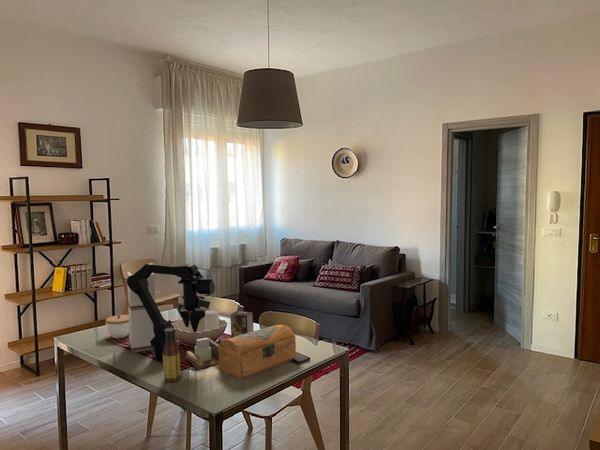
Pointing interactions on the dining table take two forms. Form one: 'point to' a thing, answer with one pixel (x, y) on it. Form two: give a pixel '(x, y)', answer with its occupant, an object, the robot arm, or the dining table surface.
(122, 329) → the lidded bowl
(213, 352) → the cleat board
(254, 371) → the wooden box
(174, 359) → the sauce bottle
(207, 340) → the cabinet block
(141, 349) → the stacked white boxes
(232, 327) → the coffee box
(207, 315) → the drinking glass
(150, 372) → the dining table surface
